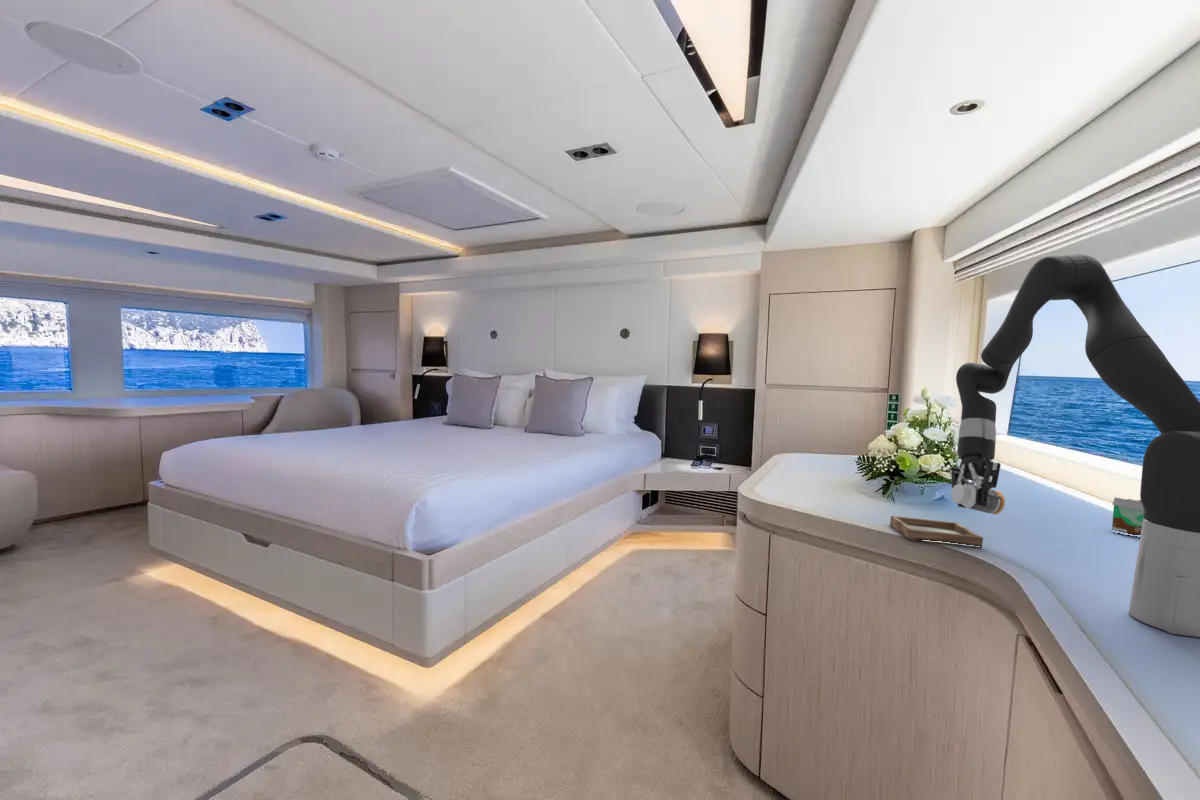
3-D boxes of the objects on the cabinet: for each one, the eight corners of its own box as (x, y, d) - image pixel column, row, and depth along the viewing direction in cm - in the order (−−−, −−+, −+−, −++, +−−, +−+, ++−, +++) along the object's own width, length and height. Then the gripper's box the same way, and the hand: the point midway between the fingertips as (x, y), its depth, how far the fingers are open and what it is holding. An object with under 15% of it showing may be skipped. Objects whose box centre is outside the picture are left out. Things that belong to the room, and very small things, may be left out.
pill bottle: (1009, 493, 123) (967, 482, 124) (1004, 517, 123) (962, 506, 124) (992, 490, 129) (952, 480, 130) (987, 513, 129) (947, 503, 129)
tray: (981, 548, 124) (983, 537, 124) (909, 540, 127) (910, 529, 126) (955, 532, 136) (957, 522, 136) (890, 524, 138) (891, 515, 138)
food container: (1135, 540, 140) (1141, 503, 139) (1108, 532, 146) (1113, 497, 145) (1166, 538, 143) (1172, 503, 143) (1138, 531, 149) (1143, 497, 148)
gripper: (942, 440, 137) (937, 504, 133) (982, 430, 123) (977, 500, 119) (971, 447, 137) (966, 511, 133) (1014, 438, 123) (1010, 509, 119)
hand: (971, 506), depth 126 cm, fingers closed on pill bottle, 5 cm apart
